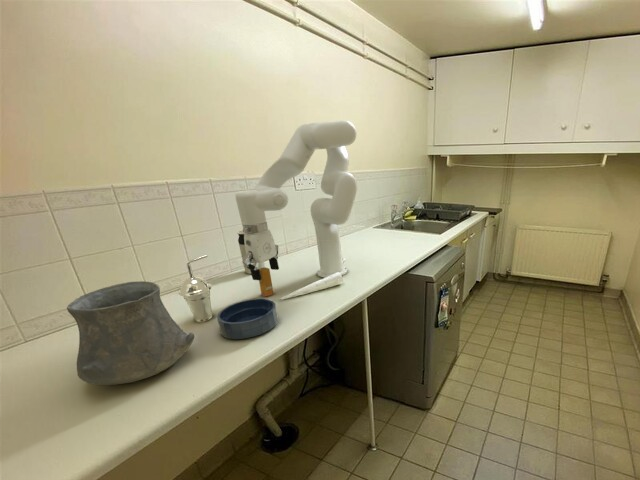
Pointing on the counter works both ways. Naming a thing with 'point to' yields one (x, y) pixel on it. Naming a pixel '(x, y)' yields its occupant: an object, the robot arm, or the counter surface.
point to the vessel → (125, 334)
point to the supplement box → (265, 282)
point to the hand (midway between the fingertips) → (266, 274)
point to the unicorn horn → (318, 285)
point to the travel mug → (243, 251)
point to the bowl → (247, 318)
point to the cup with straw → (197, 295)
